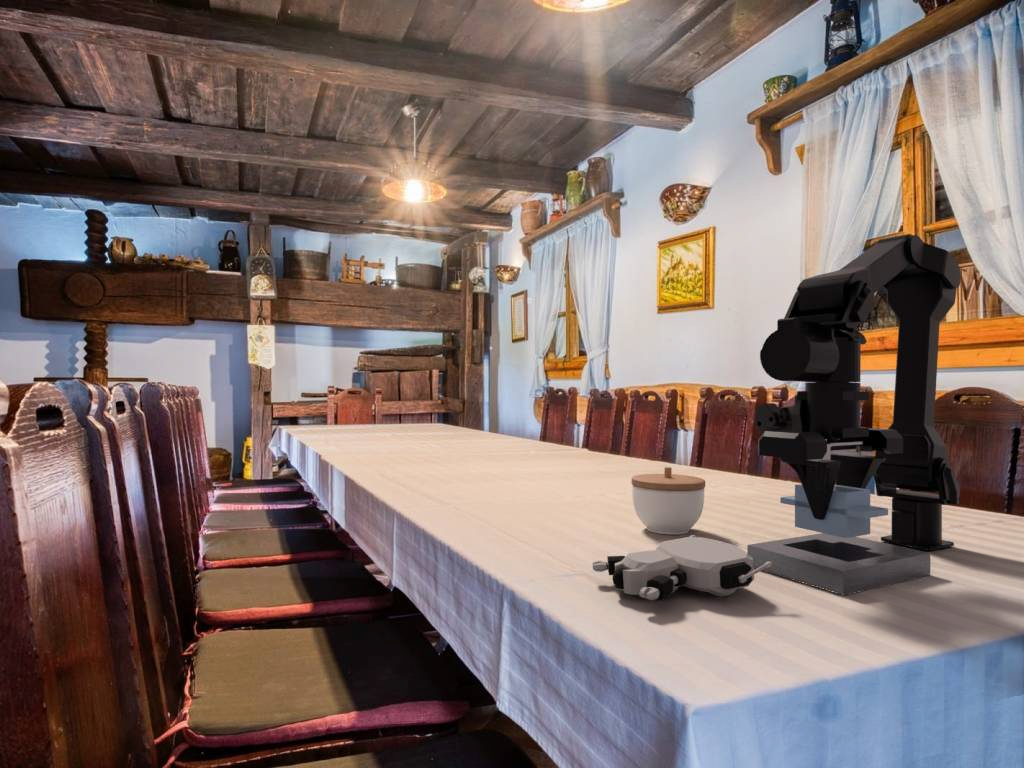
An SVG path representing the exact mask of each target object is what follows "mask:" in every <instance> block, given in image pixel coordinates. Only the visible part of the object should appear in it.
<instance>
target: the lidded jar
mask: <svg viewBox="0 0 1024 768" xmlns="http://www.w3.org/2000/svg"><path fill="white" fill-rule="evenodd" d="M663 471H664V473H644V474H636V475H633V476H632V477H631V491H632V492H631V494H632V495H631V496H632V502H633V508H634V511H635V513H636V516H637V518H638V519H639V521H640V522H641V523H642V524H643V525H644V526H645V527H646V530H647V531H648V532H651V533H653V534H654V533H655V534H659V535H671V536H672V535H673V536H674V535H686V534H688V533H689V532H690V529H691V528H693V527H694V526H695V525H696V524H697V522H698V521H699V520H700V517H701V515H702V513H703V509H704V503H705V488H706V480H705V479H704V478H702V477H698V476H694V475H687V474H686V475H685V474H676V473H675V474H673V472H672V467H671V466H670V467H669V466H665V467H664V470H663Z"/></svg>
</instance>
